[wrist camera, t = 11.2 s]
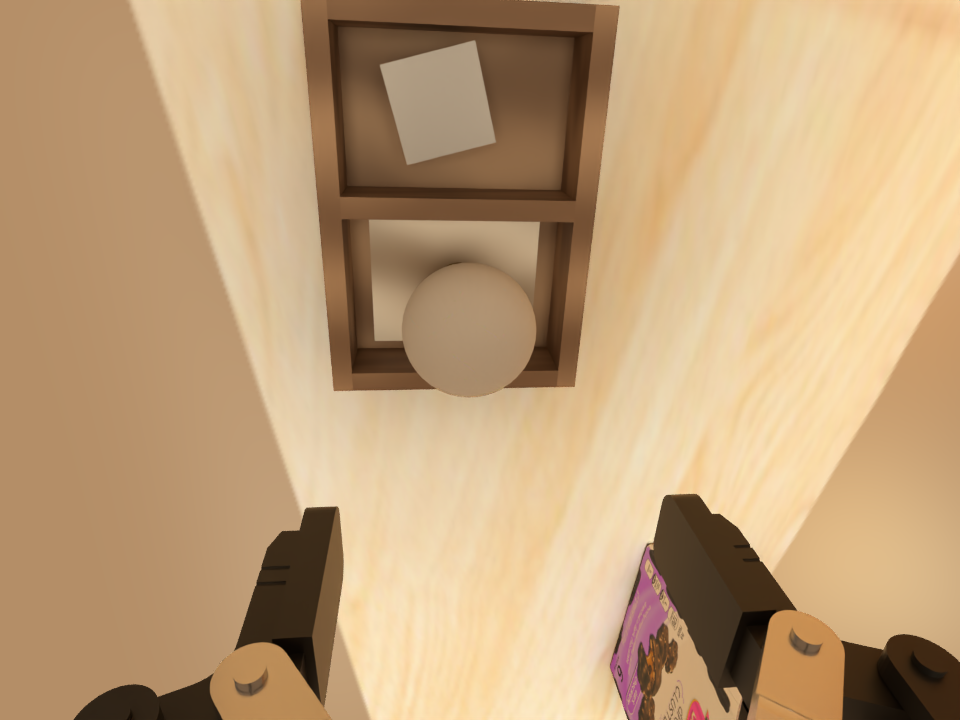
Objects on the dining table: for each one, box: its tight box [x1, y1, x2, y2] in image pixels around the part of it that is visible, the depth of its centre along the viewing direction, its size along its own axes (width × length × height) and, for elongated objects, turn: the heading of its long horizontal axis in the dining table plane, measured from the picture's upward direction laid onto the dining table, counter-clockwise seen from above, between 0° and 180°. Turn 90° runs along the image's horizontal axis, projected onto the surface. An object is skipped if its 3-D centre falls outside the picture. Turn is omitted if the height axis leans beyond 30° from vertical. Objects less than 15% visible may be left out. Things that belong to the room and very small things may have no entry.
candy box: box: [610, 544, 742, 720], centre depth 39 cm, size 14×6×16 cm, turn 173°
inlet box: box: [301, 0, 619, 391], centre depth 29 cm, size 18×13×4 cm
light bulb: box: [402, 262, 536, 397], centre depth 27 cm, size 6×6×10 cm
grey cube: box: [380, 40, 496, 165], centre depth 26 cm, size 4×4×4 cm
